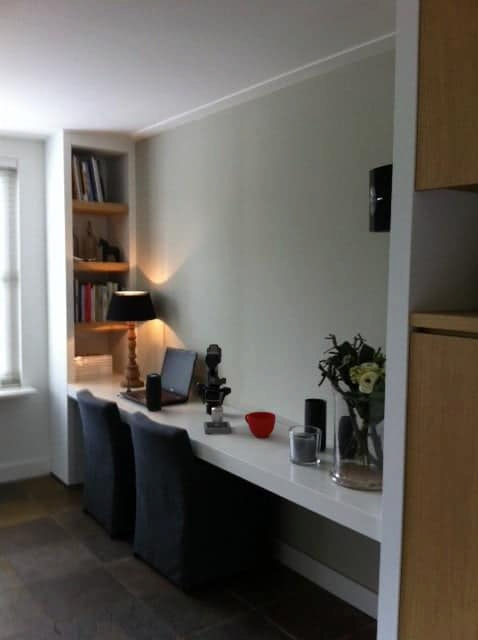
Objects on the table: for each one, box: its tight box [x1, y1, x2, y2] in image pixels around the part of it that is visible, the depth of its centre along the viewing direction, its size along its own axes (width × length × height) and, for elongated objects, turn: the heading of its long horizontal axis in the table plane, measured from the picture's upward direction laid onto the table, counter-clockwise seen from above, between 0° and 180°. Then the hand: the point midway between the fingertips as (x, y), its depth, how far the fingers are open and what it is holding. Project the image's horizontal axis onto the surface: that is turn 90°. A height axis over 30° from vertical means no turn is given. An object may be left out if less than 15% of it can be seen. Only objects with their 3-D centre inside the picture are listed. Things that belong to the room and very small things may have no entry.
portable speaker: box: [145, 372, 163, 412], centre depth 337 cm, size 9×9×20 cm
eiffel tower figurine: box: [116, 376, 133, 400], centre depth 369 cm, size 15×10×13 cm
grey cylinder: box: [211, 406, 224, 428], centre depth 297 cm, size 7×7×11 cm
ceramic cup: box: [244, 411, 276, 439], centre depth 289 cm, size 13×17×10 cm
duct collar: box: [203, 420, 232, 435], centre depth 297 cm, size 12×12×2 cm
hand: (212, 405), depth 307 cm, fingers open, 9 cm apart
